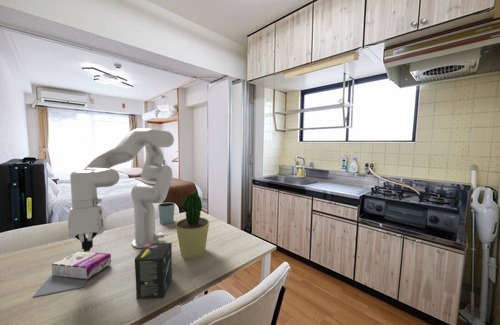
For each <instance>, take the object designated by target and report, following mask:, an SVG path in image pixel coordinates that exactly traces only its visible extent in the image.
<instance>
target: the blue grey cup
mask: <svg viewBox="0 0 500 325" xmlns="http://www.w3.org/2000/svg"><path fill="white" fill-rule="evenodd" d="M175 205H176V204H175V203H174V202H169V201H168V202H161V203H158V205H157V206H158V213H159V214H158V215H159V223H160V224H161V225H169V224H172V223H174V215H175Z"/></svg>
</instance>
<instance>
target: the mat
mask: <svg viewBox="0 0 500 325" xmlns="http://www.w3.org/2000/svg"><path fill="white" fill-rule="evenodd" d="M88 280H89V278H88V279H82V278H72V277H63V276H53V275H52V274H51V275H50V276H48V278H47V279H46V280H45V281H44V283H43V284H42V285H41V286H40V287H39V289H38V290H37V291H36V292H35V293H34V294H33V295H32V298H36V297H37V298H38V297H41V296H46V295H51V294H57V293H61V292H66V291H67V292H68V291H70V290H71V291H72V290H76V289H81V288H84V287H85V285H86V284H87V282H88Z"/></svg>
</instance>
